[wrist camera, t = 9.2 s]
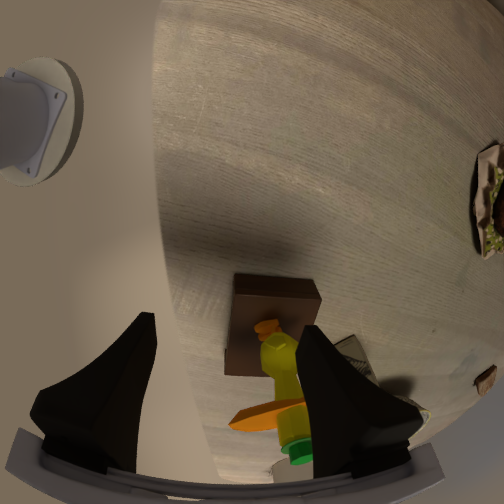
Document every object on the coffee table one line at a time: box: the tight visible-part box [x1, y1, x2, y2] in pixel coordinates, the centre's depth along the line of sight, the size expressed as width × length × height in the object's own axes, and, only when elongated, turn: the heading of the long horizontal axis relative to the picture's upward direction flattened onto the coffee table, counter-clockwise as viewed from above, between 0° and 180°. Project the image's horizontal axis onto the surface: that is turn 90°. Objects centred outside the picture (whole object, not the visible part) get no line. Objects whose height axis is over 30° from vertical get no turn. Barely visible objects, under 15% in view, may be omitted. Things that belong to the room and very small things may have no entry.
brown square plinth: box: [224, 274, 322, 377], centre depth 24 cm, size 10×7×3 cm
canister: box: [272, 458, 313, 497], centre depth 38 cm, size 16×16×20 cm
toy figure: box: [228, 319, 313, 465], centre depth 17 cm, size 7×4×12 cm, turn 111°
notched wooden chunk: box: [476, 366, 497, 396], centre depth 40 cm, size 7×6×5 cm
